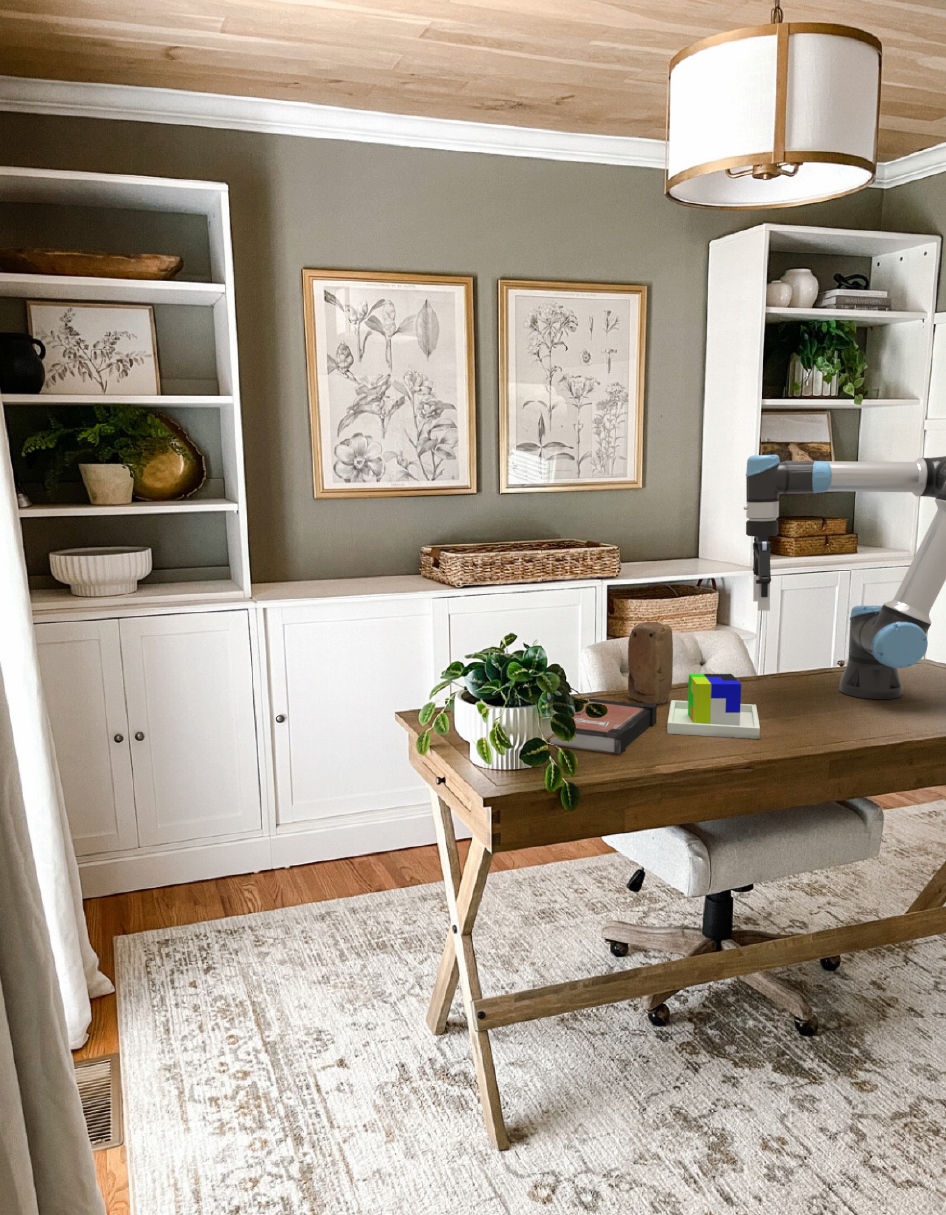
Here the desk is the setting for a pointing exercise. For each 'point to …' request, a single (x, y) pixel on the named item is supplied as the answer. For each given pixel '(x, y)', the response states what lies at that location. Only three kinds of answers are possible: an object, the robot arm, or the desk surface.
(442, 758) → the desk surface
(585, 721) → the book
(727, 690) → the puzzle toy
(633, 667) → the block
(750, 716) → the tray
